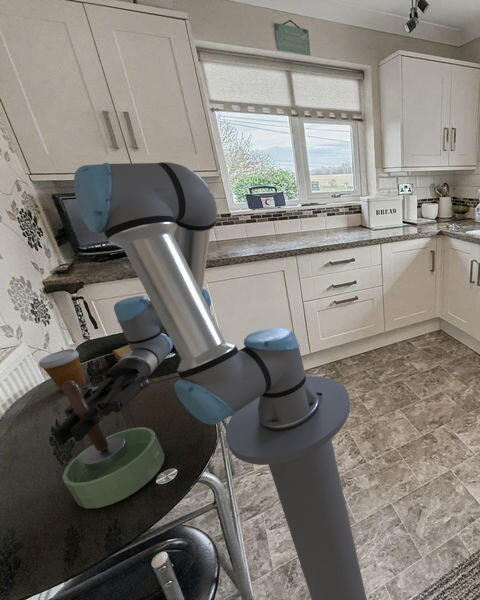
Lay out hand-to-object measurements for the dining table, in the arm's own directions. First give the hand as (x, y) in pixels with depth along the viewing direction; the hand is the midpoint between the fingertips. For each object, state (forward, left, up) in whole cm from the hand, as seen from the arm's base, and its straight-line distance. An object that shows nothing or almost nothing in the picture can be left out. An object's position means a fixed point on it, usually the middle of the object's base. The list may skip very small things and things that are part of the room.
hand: (67, 437), depth 60 cm
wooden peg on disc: (-2, -5, -10) cm, 12 cm away
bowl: (-3, -5, -17) cm, 18 cm away
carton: (+1, -74, -17) cm, 76 cm away
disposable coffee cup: (+17, -67, -17) cm, 71 cm away
